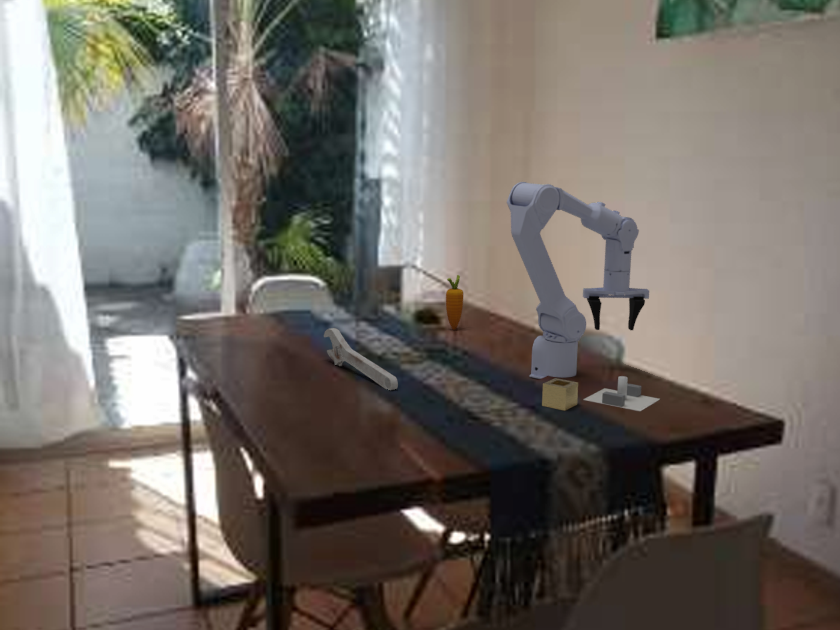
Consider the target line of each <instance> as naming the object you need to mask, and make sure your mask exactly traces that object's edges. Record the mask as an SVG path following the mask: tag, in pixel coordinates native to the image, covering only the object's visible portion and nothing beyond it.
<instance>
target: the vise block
mask: <svg viewBox="0 0 840 630" xmlns="http://www.w3.org/2000/svg"><path fill="white" fill-rule="evenodd" d="M617 377H618V379H617V390H615V389H610V388H605V387H604V388H602V389H601V390H598V391H597V392H595V393H593V394H591V395H589V396H587V397H585V398H583V401H588V402H591V403H597V404H601V405H607V406H612V407H617V408H621V409H622V408H623V409H626V410H631V411H636V412H642V411H643V410H645V409H646V408H648V407H650V406H651V405H653V404H655V403H657V402H658V401H659V400H660V399H661V398H657V397H653V396H646V395H642V385H638V384H633V383H628V377H627V376H623V375H621V376H617Z"/></svg>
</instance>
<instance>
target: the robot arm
mask: <svg viewBox="0 0 840 630" xmlns="http://www.w3.org/2000/svg"><path fill="white" fill-rule="evenodd" d="M506 204H507V206H508V209H509V212H510V233H511V237H512V239H513V242H514V244H515V246H516V248H517V251H518V253H519V255H520V257H521V261H522V263H523V265H524V267H525V269H526V272H527V275H528V276H529V279H530V281H531V284H532V287H533V288H534V291H535V292H536V295H537V297H538V301H539V304H538V305H537V306H536V307H535V308H536V309H535V311H536V313H537V316H538V317H537V319H538V320H537V323H538V327H539V329H540V330H541V331H542V335H538V336H537V337H536V338H534V341H533V344H532V349H531V366H530V367H531V369H530V371H531V372H530V373H531V374H529V378H533V379H538V380H541V379H544V378H546V377H547V376H548V377H554V378H571V377H575V376H577V368H578V367H577V365H578V364H577V363H578V345H579V343H578V342H580V341H581V338H582V337H583V335H585V332H586V329H587V320H586V317H585V315H584V314H583V313H581V312H580V311H579V310H578V307H577V305H576V304H575V303H574V302H573V301H572V300H571V299H570V298H568V297H567V295H566V294H565V291H564V289H563V287H562V284H561V282H560V280H559V277H558V274H557V272H556V269H555V267H554V264H553V262H552V260H551V257H550V255H549V252H548V250H547V247H546V245H545V243H544V240H543V238H542V236H541V232H542V230H544V228H545V227H546V226H547V224H548V222H549V221H550V220H551V218H552V217H553V215H554V214H555V213H556V211H563V212H565V213H567V214H570V215H572V216H574V217H576V218H579V219H580V223H581V225H582V226H583V227H584V228H587V229H589V230H591V231H593V232H594V233H596V234H598V235H600V236H601V238H602V240H604V241H605V249H604V250H605V251H604V252H605V253H604V266H603V267H604V268H603V269H604V271H603V287H591V288H588V287H587V288H584V287H583V289H582V297H583V298H584V299H586V300H587V303H588V305H589V308H590V310H591V313H592V314H591V315H592V318H593V325H594V330H596V331H600V329H601V328H600V327H601V319H600V317H601V309H602V303H603V302H602V301H601V299H600V298H604V299H605V298H608V299H610V298H611V299H615V298H616V299H628V301H629V303H628V307H629V308H628V310H629V311H628V313H629V315H628V323H627V328H628V330H630V331H634V329H635V328H634V327H635V324H636V322H637V319H638V317H639V315H640V312H641V310H643V307H644V306H645V303H646V300H648V299H649V298H650V289H648V288H635V287H630V283H631V282H630V280H631V268H632V267H631V266H632V265H631V264H632V261H631V260H632V251H633V249H634V248H635V247H634V246H635V242H636V241H637V240H636V239H637V238H638V236H639V232H640V229H638V226H637V223H636V221H635V220H634V219H633V218H632V217H629V216H627V217H626V216H621V214H620V211H618V210H612V209H610V208H608V207H606V204H605V203H604V202H603V201H602V202H601V201H597V202H591V203H586V202H584V201H582V200H581V199H579V198H578V197H576V196H574V195H573V194H571V193H569V192H567V191H565V190H564V189H562V188H561V187H557V186H554V185H553V184H551V183H550V184H549V183H547V184H546V183H545V184H542V183H541V184H539V183H532V182H527V181H519V182H517V183H516V184H514V185H513V186H512V188H511V190H510V193H509V195H508V197H507V199H506Z"/></svg>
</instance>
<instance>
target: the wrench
mask: <svg viewBox="0 0 840 630" xmlns="http://www.w3.org/2000/svg"><path fill="white" fill-rule="evenodd" d="M323 338H329V340H330V342H331V346H332V349H327V350H326V353H327V355H328V356H329V358H330V359H331V360H332V361H333V362H334V366H335V365H337V366H339V367H343V363H344V362H346V363H348V365H351V366H352V367H353V368H355V369H356V370H357V371H359V372H361V373H362V374H363V375H365V376H366V377H368V378H370V379H371V380H372V381H374V382H375V383H376V384H378V385H379V386H380V387H382V388H383V389H385V390H387V389H388V390H387V391H389V390H390V391H395V389H396V390H397V389H398V386H399V383H398V379H397V377H396V376H395V375H393V374H391V373H390V372H389V371H387V370H386V369H384V368H382V367H381V366H379V365H378V364H376V363H375V362H373V361H371V360H370V359H369V358H366V357H365V356H363V355H362V354H360V353H359V352H357V351H355V349H352V347H351V346H350V344H348V342H347V340H345V337H344V336H343V335H342V333H341V331H340V330H339V329H338V328H336V327H331V328H328V329H326V330H324V333H323Z"/></svg>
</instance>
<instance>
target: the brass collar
mask: <svg viewBox="0 0 840 630" xmlns="http://www.w3.org/2000/svg"><path fill="white" fill-rule="evenodd" d="M578 390H579V382H577V381H573V380H569V379H568V380H566V379H563V378H562V379H561V378H558V377H554V378H553V379H550V380H548V381H546V382H544V383H542V395H541V396H542V398H541V406H542V407H547V408H551V409H556V410H559V411H564V412H565V411H568V410H569V409H571V408H574V407H575V406H577V405H578V399H579V398H578V393H579V391H578Z"/></svg>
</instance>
